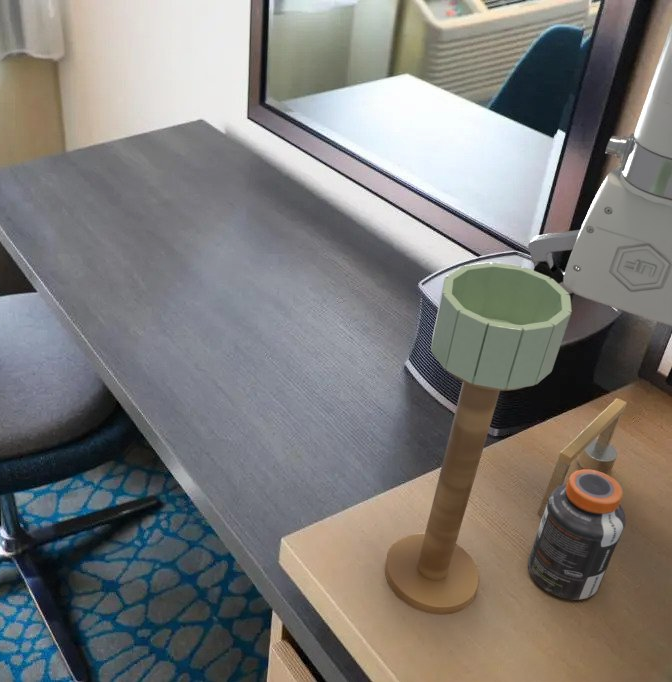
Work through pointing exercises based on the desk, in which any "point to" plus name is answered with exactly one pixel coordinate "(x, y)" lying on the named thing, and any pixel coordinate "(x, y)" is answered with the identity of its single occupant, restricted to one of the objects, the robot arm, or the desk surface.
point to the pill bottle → (578, 535)
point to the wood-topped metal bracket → (589, 449)
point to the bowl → (500, 325)
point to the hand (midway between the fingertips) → (610, 354)
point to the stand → (446, 517)
